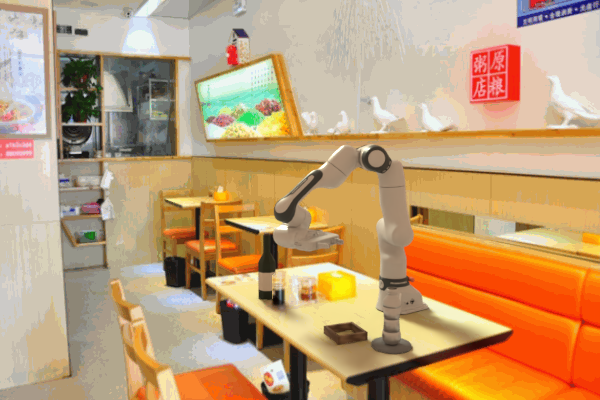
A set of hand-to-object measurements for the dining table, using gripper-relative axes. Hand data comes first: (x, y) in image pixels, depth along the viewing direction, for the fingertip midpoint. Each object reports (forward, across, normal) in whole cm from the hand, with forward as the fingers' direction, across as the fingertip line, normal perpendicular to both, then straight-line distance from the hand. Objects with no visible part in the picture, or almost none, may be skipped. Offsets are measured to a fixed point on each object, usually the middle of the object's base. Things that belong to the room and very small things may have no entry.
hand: (336, 244), depth 207 cm
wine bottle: (-45, +10, +32) cm, 56 cm away
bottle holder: (+10, -9, +32) cm, 35 cm away
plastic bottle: (+28, -6, +31) cm, 42 cm away
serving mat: (+28, -6, +32) cm, 43 cm away
